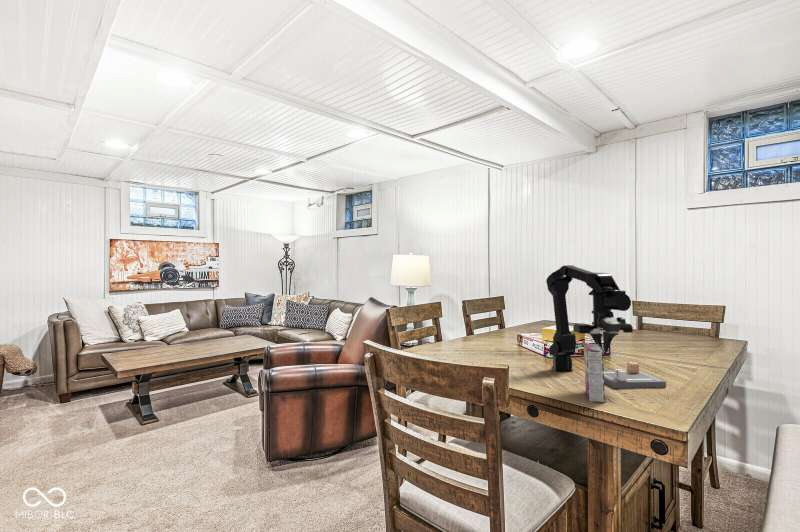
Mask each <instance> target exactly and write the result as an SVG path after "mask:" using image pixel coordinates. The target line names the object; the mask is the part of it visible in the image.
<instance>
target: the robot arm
mask: <svg viewBox="0 0 800 532" xmlns="http://www.w3.org/2000/svg"><path fill="white" fill-rule="evenodd" d="M573 279H574V280H578V281H580V282H584V283H585V284H586V286H587V287H589V288H590V289H592V290H590V291H589V292H588V295H589V296H592V310H591V314H593V321H591V325H590V324H587V323H584V322H583V323H580V322H579V323H574V325H573V326H572V327H573V332H575V333H578V334H588V335H590V336H591V338H592V340H593V342H594V344H599V346H600V347H601V349H602V350H604V351H603V352H604V353H608V351H609V349H610V346H611V343H612V340H613V339H614V338H615V337H616V336H618V335H620V331H622V332H623V333H626V334H628V333H633V332H634V327H633V326H632V324H631V323H627V322H626V318H625V317H624V316H620V317H619V316H618V317H615V316H614V311H620V312H621V311H622V312H625V311H626V312H627V311H628V310H629V309H630V307H631V305H632V300H631V298H630V296H629V295H628V294H626V290H622V289H620V287H619V286H618V284H617V283H616V280H614V277H613V275H612V274H611V273H609V272H593V271H591V270H587V269H583V268H580V267H577V266H575V265H569V264H568V265H562V266H561V267H560V268H559V269H556V270H555V271H553V272H552V273H551V274H549V275H548V276H547V278H546V280H545V281H546V282H545V283H546V287H547V290H548V292H549V293H550V294H551V296H552V301H553V302H552V303H553V311H554V312H553V313H554V320H555V328H556V329H555V330H556V331H555V333H554V335H553V337H552V344H551V345H550V347H549V348H548V354H549V355H550V356H552V366H551V369H552V370H554V371H555V372H560V373H561V372H563V373H564V372H573V359H572V358H571V356H574V355H575V352H576V349H577V348H576V347H577V344H578V343H577V339H576V338H577V337H576V334H573V333H572V331H571V330H570V325H569V316H568V314H569V313H568V308H567V307H568V306H567V298H566V297H567V296H566V295H567V292H568V291H569V287H570V283H571V282H572V281H573ZM612 310H613V311H612ZM601 331H602V333H601ZM602 339H603V340H602ZM602 342H603V344H602Z"/></svg>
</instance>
